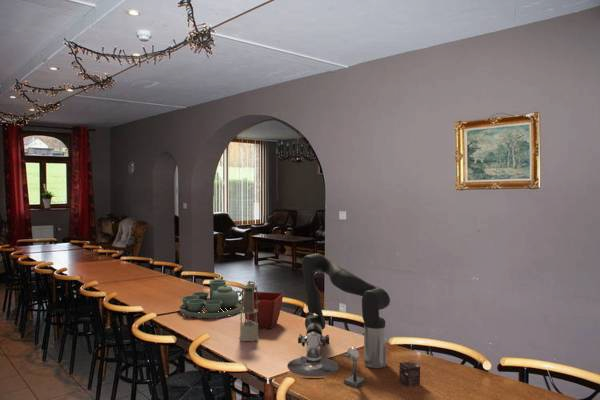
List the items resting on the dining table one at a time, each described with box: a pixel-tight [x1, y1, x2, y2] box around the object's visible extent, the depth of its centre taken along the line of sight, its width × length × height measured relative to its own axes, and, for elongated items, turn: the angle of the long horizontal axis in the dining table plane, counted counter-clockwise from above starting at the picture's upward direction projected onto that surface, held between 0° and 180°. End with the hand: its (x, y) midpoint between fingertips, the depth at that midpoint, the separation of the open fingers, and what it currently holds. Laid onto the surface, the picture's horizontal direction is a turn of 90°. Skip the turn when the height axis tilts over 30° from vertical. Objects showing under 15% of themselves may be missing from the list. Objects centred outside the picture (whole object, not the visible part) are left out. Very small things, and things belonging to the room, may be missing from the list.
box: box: [398, 360, 421, 387], centre depth 183 cm, size 6×6×7 cm
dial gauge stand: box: [341, 346, 366, 388], centre depth 183 cm, size 9×6×14 cm, turn 50°
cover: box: [305, 332, 322, 362], centre depth 203 cm, size 6×6×12 cm
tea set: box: [179, 278, 244, 319], centre depth 291 cm, size 40×40×16 cm
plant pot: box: [243, 291, 284, 330], centre depth 259 cm, size 19×19×17 cm
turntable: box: [287, 356, 340, 380], centre depth 196 cm, size 22×22×1 cm
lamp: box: [238, 280, 260, 342], centre depth 234 cm, size 10×13×30 cm
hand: (313, 344), depth 202 cm, fingers open, 8 cm apart
